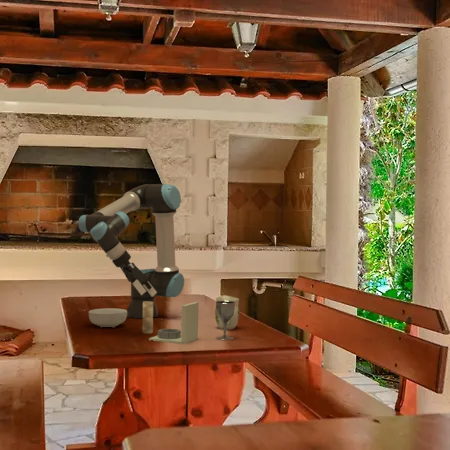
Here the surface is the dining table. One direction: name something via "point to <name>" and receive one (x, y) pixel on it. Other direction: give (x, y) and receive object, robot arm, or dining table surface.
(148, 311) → the beige mottled cylinder
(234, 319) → the pitcher
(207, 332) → the dining table surface
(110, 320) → the cereal bowl
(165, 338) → the bracket
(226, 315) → the wine glass
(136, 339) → the dining table surface
